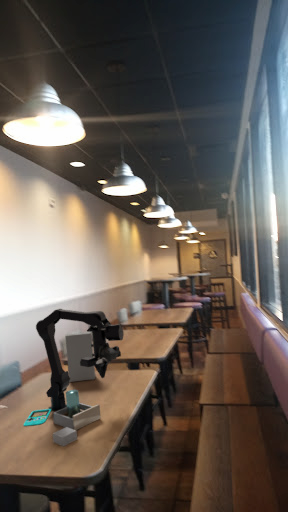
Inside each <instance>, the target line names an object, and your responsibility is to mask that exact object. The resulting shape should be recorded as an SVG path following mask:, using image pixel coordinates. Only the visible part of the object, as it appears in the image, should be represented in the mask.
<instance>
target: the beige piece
mask: <svg viewBox="0 0 288 512" xmlns="http://www.w3.org/2000/svg"><path fill="white" fill-rule="evenodd" d="M61 415H64V416H67V417H68V412H66V413H64V414H61ZM101 418H102V417H101V406H100V404H96V405H93V407H91V408H89V409H87V410H85V411H84V410H81V409H80V413H78V414H76V415H74V416H73V424H74V430H76V431H77V430H79V429H82V428H83V427H85V426H88V425H90V424H91V423H94V422H95V421H98V420H100V419H101Z"/></svg>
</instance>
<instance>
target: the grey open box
mask: <svg viewBox="0 0 288 512" xmlns="http://www.w3.org/2000/svg"><path fill="white" fill-rule="evenodd" d="M79 404H80V409H81V410H84V411H85V410H87V409H89V408H91V407H93V406H94V405H93V406H92V405H89V404H86V403H82V402H79ZM66 412H67V407H65V408H63V409H61V410H58V411H53V412H52V421H53V424H55V425H58V426H61V427H63V428H65V427H68V428H71V429H73V430H74V424H73V418H70V417H67V416H64V415H61V414H64V413H66Z"/></svg>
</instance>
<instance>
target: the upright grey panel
mask: <svg viewBox="0 0 288 512" xmlns="http://www.w3.org/2000/svg"><path fill="white" fill-rule="evenodd" d="M91 344H93V338H92V331H91V332H87V331H84V332H76V333H67V334H66V335H65V347H66V359H67V367H68V368H67V369H68V370H67V371H68V373H69V377H70V383H73V382H80V381H82V382H83V381H89V380H93V381H94V380H95V379H96V371H95V369H96V368H95V366H91V367H84V366H80V360H81V359H83V358H86V357H92V358H94V356H92V354H93V353H94V349H93V347H91Z"/></svg>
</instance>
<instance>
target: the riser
mask: <svg viewBox="0 0 288 512" xmlns="http://www.w3.org/2000/svg"><path fill="white" fill-rule="evenodd" d="M77 433H78V432H77V430H73V429H71V428H68V427H63V428H61V429H59V430H57V431H55V432H52V442H53V443H54V444H56V445H59V446H61V447H65V446H67V445H69V444H71V443H72V442H75V441H77V440H78V434H77Z"/></svg>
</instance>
